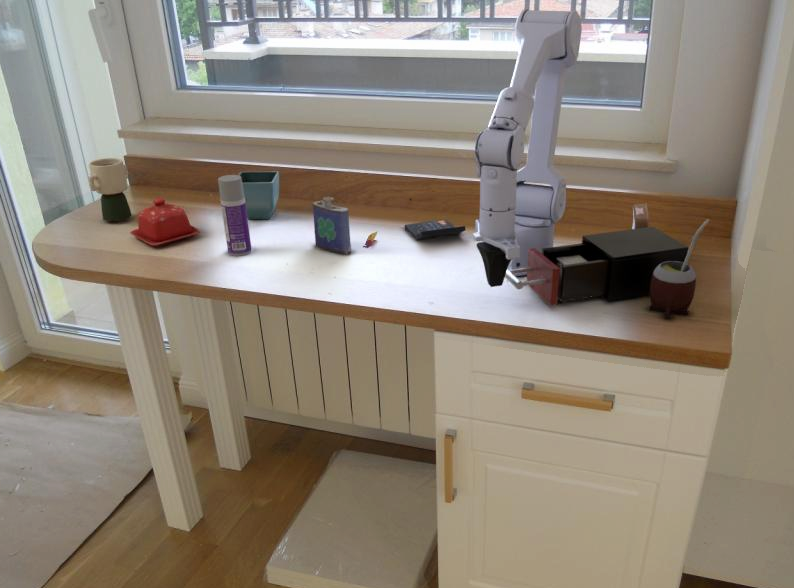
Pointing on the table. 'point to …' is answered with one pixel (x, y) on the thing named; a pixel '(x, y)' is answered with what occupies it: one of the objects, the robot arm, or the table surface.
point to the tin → (640, 216)
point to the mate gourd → (674, 284)
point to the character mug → (110, 187)
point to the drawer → (565, 273)
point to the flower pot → (260, 193)
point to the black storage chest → (635, 259)
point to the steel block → (566, 261)
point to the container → (234, 215)
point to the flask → (331, 227)
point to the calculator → (433, 229)
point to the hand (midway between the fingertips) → (495, 284)
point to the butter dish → (163, 224)
